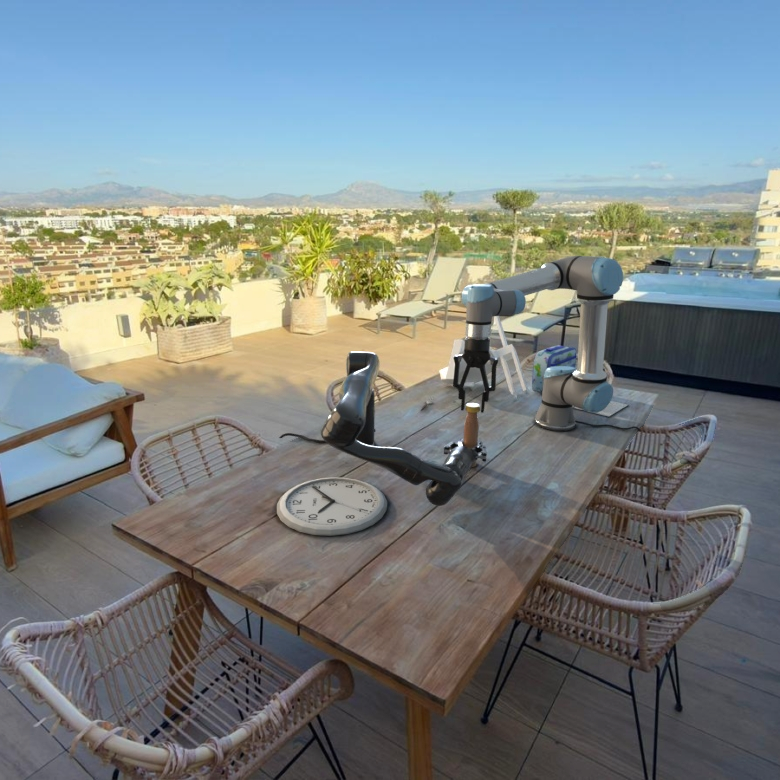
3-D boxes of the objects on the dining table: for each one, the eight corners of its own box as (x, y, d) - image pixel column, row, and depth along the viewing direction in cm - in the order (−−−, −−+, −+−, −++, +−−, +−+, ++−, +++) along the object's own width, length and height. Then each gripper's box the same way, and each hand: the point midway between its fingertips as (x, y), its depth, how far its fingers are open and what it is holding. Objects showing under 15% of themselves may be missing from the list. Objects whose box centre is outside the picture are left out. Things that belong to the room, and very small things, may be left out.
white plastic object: (461, 429, 252) (437, 405, 227) (444, 352, 274) (420, 323, 250) (535, 404, 240) (518, 377, 215) (510, 326, 262) (492, 293, 237)
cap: (470, 407, 166) (470, 401, 166) (482, 410, 164) (482, 404, 163) (463, 410, 163) (463, 405, 163) (475, 413, 161) (475, 408, 160)
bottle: (467, 468, 166) (471, 410, 160) (458, 462, 170) (462, 405, 164) (478, 465, 168) (483, 407, 162) (470, 460, 172) (474, 403, 166)
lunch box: (548, 398, 236) (553, 353, 229) (527, 393, 243) (531, 349, 237) (575, 387, 253) (581, 344, 247) (555, 382, 260) (560, 341, 254)
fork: (417, 411, 216) (418, 406, 216) (428, 400, 231) (428, 395, 230) (423, 412, 215) (424, 407, 215) (434, 400, 230) (434, 396, 229)
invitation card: (608, 416, 214) (573, 407, 224) (608, 416, 214) (573, 408, 224) (628, 404, 229) (594, 396, 238) (628, 405, 229) (594, 397, 238)
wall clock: (392, 527, 129) (268, 531, 127) (391, 533, 130) (269, 537, 127) (383, 473, 158) (282, 475, 155) (383, 478, 158) (282, 480, 156)
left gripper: (483, 455, 151) (495, 434, 166) (436, 447, 156) (451, 428, 171) (481, 478, 153) (493, 456, 168) (435, 470, 158) (450, 449, 173)
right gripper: (509, 336, 158) (503, 409, 165) (448, 332, 162) (445, 403, 169) (508, 341, 151) (501, 417, 158) (444, 337, 155) (441, 410, 162)
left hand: (472, 442), depth 169 cm, fingers closed on bottle, 4 cm apart
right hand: (472, 410), depth 164 cm, fingers open, 5 cm apart
